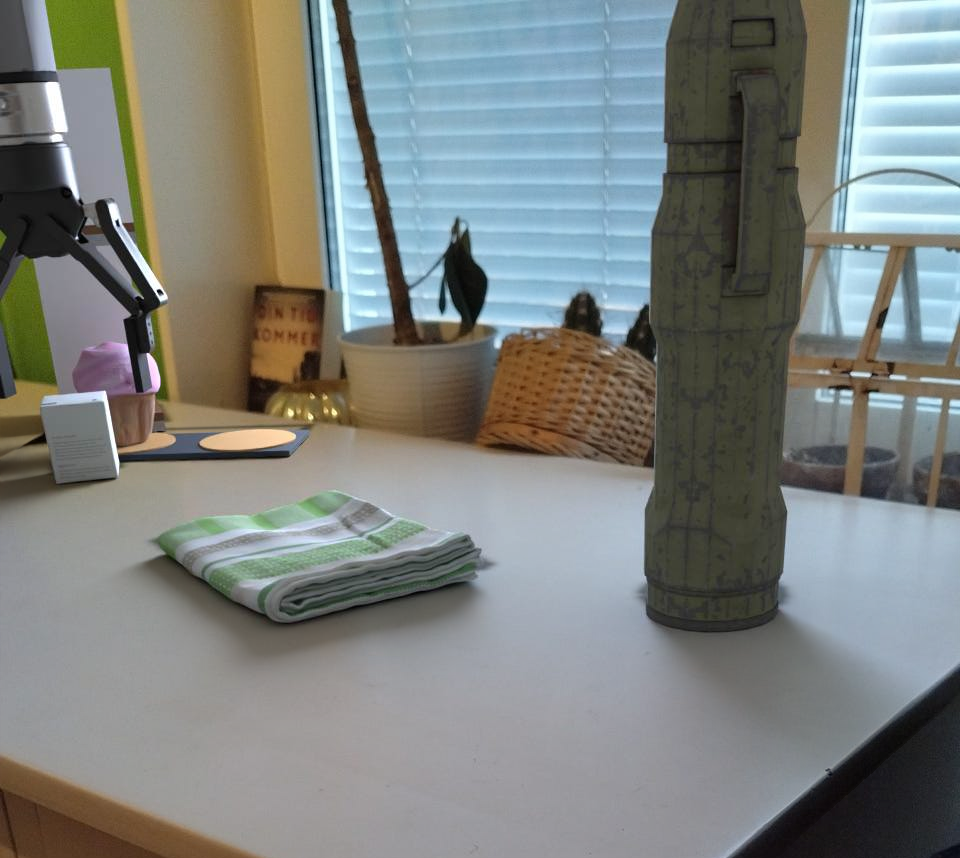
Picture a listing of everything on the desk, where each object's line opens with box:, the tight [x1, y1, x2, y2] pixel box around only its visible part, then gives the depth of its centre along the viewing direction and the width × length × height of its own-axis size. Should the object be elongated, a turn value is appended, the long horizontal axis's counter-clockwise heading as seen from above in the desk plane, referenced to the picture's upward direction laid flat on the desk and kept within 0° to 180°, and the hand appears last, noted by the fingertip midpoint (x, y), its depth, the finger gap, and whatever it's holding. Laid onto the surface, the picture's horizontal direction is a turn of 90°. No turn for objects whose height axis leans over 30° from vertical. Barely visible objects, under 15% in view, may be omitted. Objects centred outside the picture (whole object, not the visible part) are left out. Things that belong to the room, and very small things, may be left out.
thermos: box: [643, 0, 808, 632], centre depth 78 cm, size 9×12×35 cm
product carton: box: [39, 391, 120, 485], centre depth 128 cm, size 6×6×7 cm
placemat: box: [116, 428, 310, 462], centre depth 138 cm, size 24×10×1 cm, turn 85°
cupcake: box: [72, 342, 161, 447], centre depth 136 cm, size 9×9×10 cm
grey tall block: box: [32, 67, 167, 433], centre depth 142 cm, size 11×11×35 cm
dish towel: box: [156, 489, 485, 624], centre depth 98 cm, size 17×23×4 cm
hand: (75, 393), depth 126 cm, fingers open, 13 cm apart
